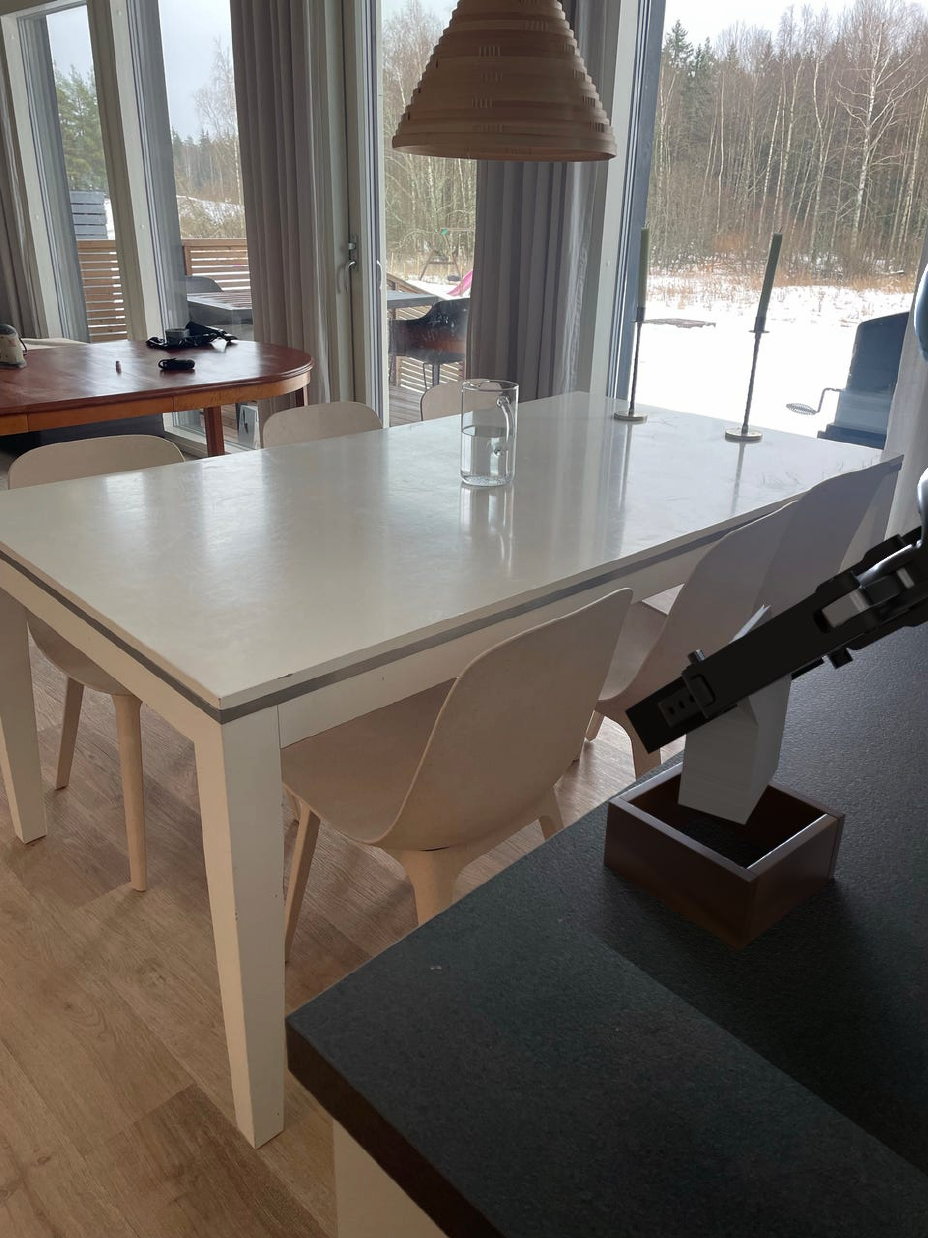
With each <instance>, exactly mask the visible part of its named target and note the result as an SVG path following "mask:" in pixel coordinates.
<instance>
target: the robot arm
mask: <svg viewBox="0 0 928 1238" xmlns="http://www.w3.org/2000/svg"><path fill="white" fill-rule="evenodd" d="M920 280H921V281H920V283H919V286H918V291H917V295H916V299H915V308H914V333H915V335H916V337H917V340H918V341H917V342H918V350H919V353H920V355H921V356H922V358H923V359H924V361H925V362H926V364H928V264H927V265H926V267H925V270H924V272H923V274H922V277H921V279H920ZM916 489H917V490H916V508H917V513H918V514H919V516H920V525H918V526H917V527H914V528H913V529H911V530H910V531H908V532H906V533H905V534H903V535H902V536H901V534H900V533H896V534H895V535H892V536H890V537H888V538H886V539H885V540H883V541H881V542H880V543H878V544H876V545H874V546H873V547H871V548H869V549H868V550H867V551H866V552H865V553H864V555H863V556H862V559H861V560H859V561H858V562H856V563H855V564H853V565H851V566H850V567H848V568H846V569H844V570H843V571H841V572H839V573H837V574H836V575H834V576H831V577H830V578H829V579H827V580H825V581H823V582H821V583H820V584H818V585H817V587H816V588H815V590H814V592H813V593H812V594H810V595H809V596H807V597H805V598H804V599H803V600H801V601H799V602H797V603H795V604H794V605H792V606H791V607H789V608H787V609H785V610H784V611H782V612H781V613H779V614H777V615H776V616H774V617H772V619H771V620H769V621H767V622H766V623H764V624H762V625H761V626H759V627H757V628H756V629H754V630H752V631H751V632H749V633H747V634H746V635H744V636H742V637H741V638H739V639H737V640H735V641H734V642H732V643H730V642H729V643H730V644H729V643H728V644H729V645H728V644H727V645H726V646H724V647H722V648H721V649H718V650H717V651H715V652H714V653H711V654H710V655H709V656H707V657H706V655H705V653H704V651H703V649H697V650H693V651H692V652H690V653H689V654H687V655H686V657H687V659H688V661H689V663H690V664H689V665H687V666H686V667H685V669H683V670H682V671H681V673H680V676H679V677H677V678H675V679H674V680H672V681H670V682H669V683H667V684H666V685H664V686H662V687H661V688H659V689H657V690H656V691H654V692H653V693H651V694H650V695H648V696H646V697H645V698H643V699H642V700H640V701H638V702H637V703H634V705H632V706H630V707H628V708H627V709H625V710H624V713H625V714H626V716H627V718H628V720H629V722H630V724H631V726H632V727H633V730H634V731H635V733H636V734H637V737H638V738H639V740H640V742H641V744H642V746H643V747H644V749H645V751H646V753H647V755H650V754H652V753H654V752H656V751H658V750H660V749H662V748H664V747H666V746H668V745H669V744H671V743H672V742H674V741H676V740H678V739H681V738H682V737H684V736H686V734H688V733H690V732H691V731H693V730H695V729H697V728H699V727H701V726H702V725H704V724H706V723H708V722H710V721H712V720H714V719H715V718H717V717H719V716H721V715H723V714H725V713H726V712H728V711H730V710H732V709H734V708H736V707H738V706H737V704H736V703H738V702H740V701H742V700H744V699H746V698H747V697H749V696H751V695H753V694H755V693H757V692H759V691H761V690H762V689H764V688H766V687H768V686H770V685H772V684H774V683H776V682H777V681H779V680H781V679H783V678H785V677H787V676H789V675H791V677H792V681H795V680H796V679H798V678H800V677H802V676H803V675H805V674H808V673H809V672H811V671H813V670H815V669H816V668H818V667H820V666H822V665H824V664H825V663H826V662H825V660H824V659H823V658H825V657H827V658H828V660H829V662H830V663H831V665H832V666H833V668H834V670H838V669H840V668H842V667H844V666H846V665H847V664H850V663H852V662H853V661H854V658H853V657H852V655H851V653H850V652H849V650H851V651H855V652H857V651H860V650H862V649H865V648H867V647H869V646H870V645H872V644H874V643H876V642H879V641H881V640H883V639H884V638H886V637H888V636H890V635H891V634H894V633H895V632H898V631H899V630H901V629H903V628H906V627H907V628H916V627H918V626H921V625H923V624H925V623H927V622H928V468H927V469H926V470H925V471H924V472H923V473H922V475H921V476H920V478H919V481H918V484H917V488H916Z"/></svg>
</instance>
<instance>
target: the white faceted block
mask: <svg viewBox="0 0 928 1238" xmlns="http://www.w3.org/2000/svg"><path fill="white" fill-rule="evenodd" d="M772 618H773V612H772V604H770V605H768V606H767V607H765V604H763V605H762V606H761V607H760V608H759V609H758V610H757V612H756V613H754V615H753V616H752V617H751V618H750V619H749V621H747V622H746V624H744V626H743V627H742V628H741V629H740V630H739V631H738V632H737V633H736V634H735V636H734V637H733V638H732V639H731V640H730V641H729V643H728V644H727V645H729V644H730V643H732V642H734V641H735V640H737V639H739V638H741V637H742V636H744V635H746V634H747V633H749V632H751V631H752V630H754V629H756V628H757V627H759V626H761V625H762V624H764V623H766V622H767V621H769V620H771V619H772ZM792 681H793V680H792V677H791V675H789V676H787V677H785V678H783V679H781V680H779V681H777V682H776V683H774V684H772V685H770V686H768V687H766V688H764V689H762V690H761V691H759V692H757V693H755V694H753V695H751V696H749V697H747V698H746V699H744V700H742V701H740V702H738V703H736V704H737V706H738V707H736V708H734V709H732V710H730V711H728V712H726V713H725V714H723V715H721V716H719V717H717V718H715V719H714V720H712V721H710V722H708V723H706V724H704V725H702V726H701V727H699V728H697V729H695V730H693V731H691V732H690V733H688V734H686V735H685V740H684V747H683V748H684V749H683V759H682V762H683V765H682V774H681V782H680V791H679V800H678V804H681V805H684V806H687V807H691V808H694V809H697V810H700V811H703V812H706V813H710V814H713V815H716V816H719V817H722V818H725V819H729V820H732V821H735V822H738V823H741V824H745V823H746V821H747V819H748V818H749V816H750V814H751V813H752V811H753V809H754V808H755V806H756V804H757V802H758V801H759V799H760V797H761V796H762V794H763V792H764V791H765V789H766V787H767V785H768V784H769V782H770V780H771V779H773V777H774V776H775V774H776V772H777V771H778V768H779V762H780V755H781V749H782V743H783V738H784V737H783V736H784V732H785V724H786V717H787V711H788V705H789V698H790V694H791V687H792Z"/></svg>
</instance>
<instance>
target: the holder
mask: <svg viewBox="0 0 928 1238" xmlns="http://www.w3.org/2000/svg"><path fill="white" fill-rule="evenodd" d="M682 765H683V761H682V762H680V763H678V764H675V765H674V766H672V767H670V768H668V769H667V770H665V771H663V772H661V773H659V774H656V775H655V776H653V777H652V778H650V779H648V780H646V781H644V782H642V783H640V784H639V785H636V786H635V787H633V788H631V789H629V790H627V791H625V792H623V793H622V794H620V795H618V796H615V797H614V798H612V799H610V800H608V802H607V812H606V813H607V816H606V825H605V827H606V828H605V838H604V852H603V865H604V866H606V867H608V868H610V869H611V870H612V871H614V872H615V873H617V874H619V876H621V877H624V878H625V879H626V880H628V881H630V882H631V883H633V884H634V885H636V886H637V887H638V888H641V889H642V890H644V891H645V892H647V893H648V894H650V895H651V896H653V897H654V898H656V899H658V900H659V901H661V902H662V903H664V904H665V905H667V906H668V907H670V908H672V909H673V910H674V911H676V912H678V913H679V914H681V915H682V916H684V917H685V918H687V919H688V920H690V921H692V922H694V923H695V924H696V925H698V926H700V927H702V928H703V929H704V930H706V931H707V932H709V933H711V934H712V935H714V936H715V937H717V938H719V939H720V940H722V941H723V942H724V943H726V944H728V945H729V946H731V947H732V948H734V949H736V950H738V951H741V950H742V949H744V948H745V947H746V946H748V944H750V943H751V942H752V941H755V939H756V938H758V937H759V936H760V935H761V934H763V933H764V932H766V931H767V930H768V929H769V928H770V927H772V926H773V925H774V924H775V923H777V922H778V921H780V920H781V919H782V918H783V917H785V916H786V915H787V914H789V913H790V912H792V911H793V910H794V909H795V908H796V907H798V906H799V905H800V904H802V903H803V902H804V901H806V899H808V898H809V897H810V896H812V895H813V894H815V893H816V892H817V891H818V890H820V889H821V888H822V887H823V886H825V885H826V884H827V883H829V882H830V881H831V880H833V879H834V876H835V872H836V867H837V862H838V856H839V852H840V851H839V850H840V846H841V843H842V842H841V841H842V837H843V831H844V825H845V820H846V813H844V812H842V811H840V810H838V809H835V808H834V807H832V806H830V805H827V804H825V803H823V802H821V801H819V800H816V799H815V798H812V797H810V796H808V795H806V794H804V793H802V792H800V791H798V790H795V789H793V788H791V787H789V786H788V785H785V784H783V783H781V782H780V781H777V780H774V779H773V778H772V779H771V780H770V782H769V784H768V785H767V787H766V789H765V791H764V792H763V794H762V796H761V797H760V799H759V801H758V802H757V804H756V806H755V808H754V809H753V811H752V813H751V814H750V816H749V818H748V819H747V821H746V823H745V824H741V823H738V822H735V821H732V820H729V819H725V818H722V817H719V816H716V815H713V814H710V813H706V812H703V811H700V810H697V809H694V808H691V807H687V806H684V805H681V804H678V800H679V791H680V782H681V774H682ZM702 817H705V818H706V819H708V820H710V821H712V822H713V823H716V824H717V825H718V826H721V827H723V828H725V829H726V830H729V831H730V832H732V833H734V834H735V835H738V836H740V837H741V838H743V839H745V840H747V841H749V842H751V843H753V844H754V845H756V846H758V847H760V848H762V849H764V850H765V851H767V852H769V853H767V854H766V855H764V856H763V857H762V858H760V859H759V860H757V861H755V862H754V863H752V864H751V865H750V866H748V867H747V868H744V867H743V866H741V865H739V864H738V863H735V862H734V861H732V860H730V859H729V858H727V857H725V856H723V855H722V854H719V853H718V852H716V851H714V850H712V849H711V848H709V847H708V846H705V845H703V844H702V843H700V842H698V841H696V840H695V839H694V838H691V837H690V836H688V835H686V834H684V833H682V832H681V831H680V830H683V828H685V827H687V826H688V825H691V824H692V823H694V822H695V821H696V820H697V821H698V819H700V818H702Z"/></svg>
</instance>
